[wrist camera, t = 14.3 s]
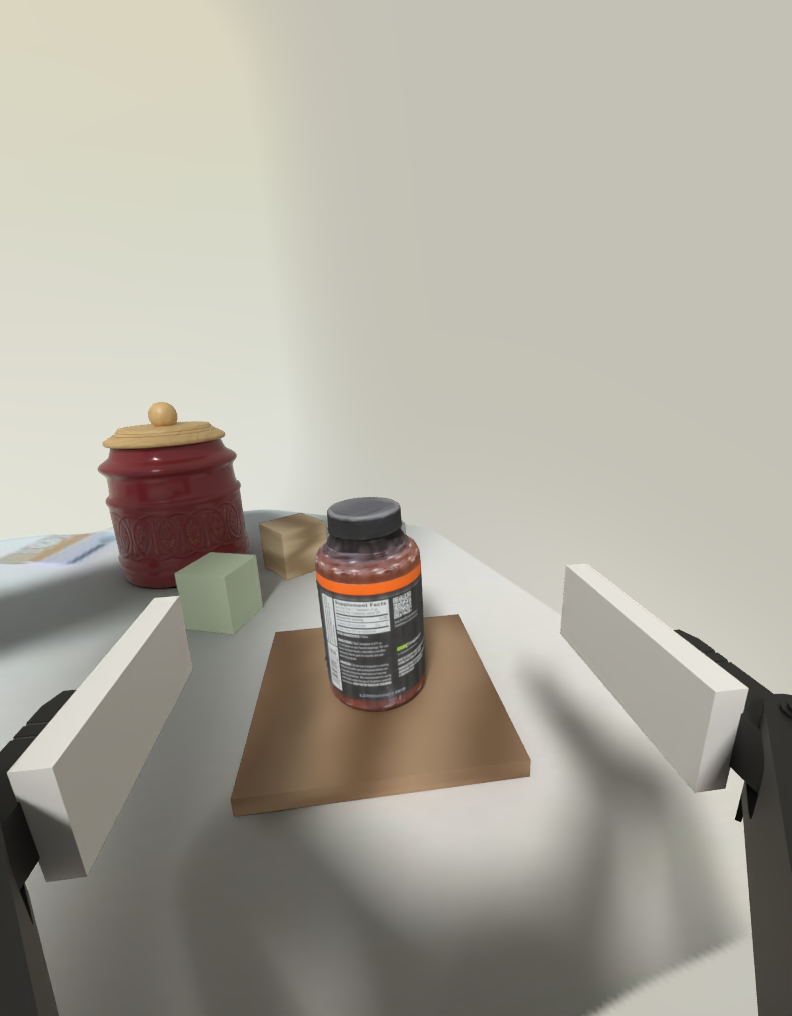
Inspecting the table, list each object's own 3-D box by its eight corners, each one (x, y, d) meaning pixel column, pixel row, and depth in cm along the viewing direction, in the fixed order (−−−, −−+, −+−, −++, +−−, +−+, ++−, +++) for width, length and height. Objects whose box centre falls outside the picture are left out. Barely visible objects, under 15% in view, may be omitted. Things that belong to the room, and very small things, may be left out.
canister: (252, 577, 46) (226, 400, 41) (108, 601, 42) (61, 409, 37) (250, 537, 58) (230, 397, 53) (137, 553, 54) (105, 403, 49)
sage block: (185, 629, 36) (174, 573, 35) (218, 603, 41) (210, 552, 39) (233, 635, 35) (224, 577, 34) (263, 607, 40) (255, 554, 38)
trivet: (233, 816, 20) (230, 799, 20) (277, 643, 34) (275, 632, 33) (529, 776, 22) (530, 760, 21) (458, 625, 35) (458, 614, 35)
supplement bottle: (355, 646, 31) (341, 489, 28) (437, 661, 29) (432, 493, 26) (310, 704, 26) (286, 518, 23) (407, 728, 24) (396, 526, 20)
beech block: (287, 581, 45) (281, 533, 43) (264, 567, 48) (258, 523, 47) (329, 566, 48) (325, 521, 46) (305, 554, 51) (300, 512, 50)
